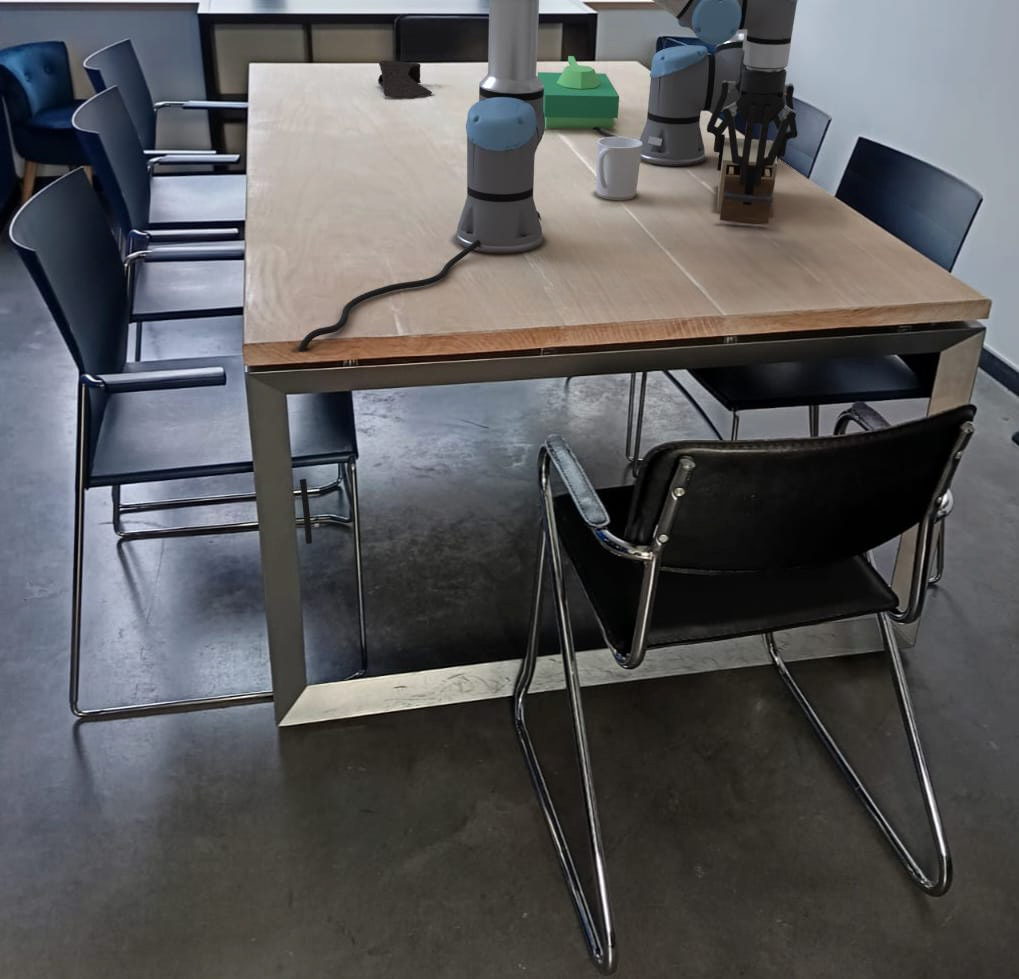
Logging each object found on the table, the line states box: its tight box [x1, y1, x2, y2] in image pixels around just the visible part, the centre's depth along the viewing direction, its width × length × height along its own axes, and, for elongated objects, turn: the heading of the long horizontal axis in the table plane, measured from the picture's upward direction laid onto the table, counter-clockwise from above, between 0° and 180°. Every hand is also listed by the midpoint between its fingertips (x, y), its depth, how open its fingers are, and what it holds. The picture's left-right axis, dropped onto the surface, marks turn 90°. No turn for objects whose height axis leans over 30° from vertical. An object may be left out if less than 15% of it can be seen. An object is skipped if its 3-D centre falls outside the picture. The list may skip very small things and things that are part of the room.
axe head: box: [377, 59, 433, 99], centre depth 299 cm, size 18×8×15 cm
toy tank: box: [537, 55, 620, 130], centre depth 276 cm, size 18×12×35 cm
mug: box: [595, 136, 642, 201], centre depth 218 cm, size 11×9×10 cm
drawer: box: [719, 165, 776, 225], centre depth 207 cm, size 21×9×8 cm, turn 170°
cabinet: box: [716, 137, 779, 217], centre depth 216 cm, size 17×10×10 cm, turn 170°
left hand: (747, 202), depth 201 cm, fingers closed
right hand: (746, 170), depth 220 cm, fingers closed on cabinet, 10 cm apart
